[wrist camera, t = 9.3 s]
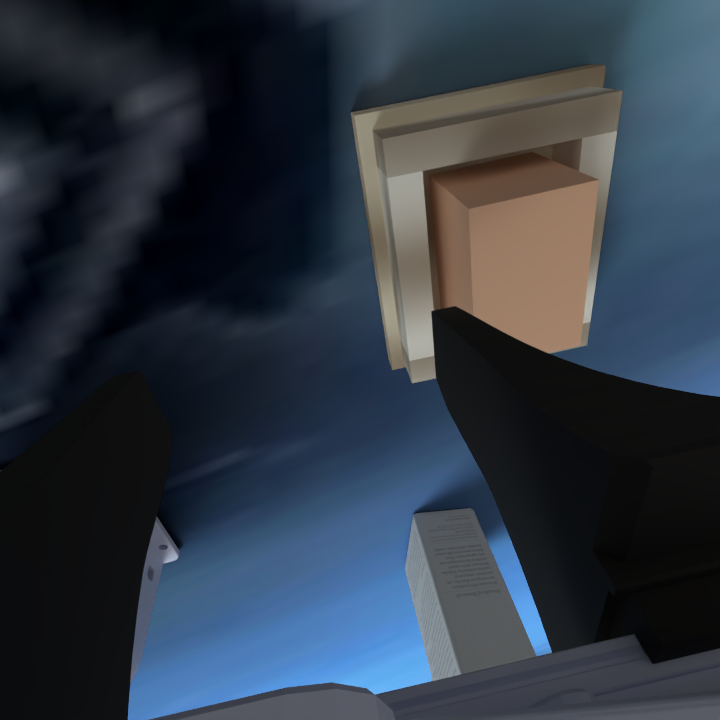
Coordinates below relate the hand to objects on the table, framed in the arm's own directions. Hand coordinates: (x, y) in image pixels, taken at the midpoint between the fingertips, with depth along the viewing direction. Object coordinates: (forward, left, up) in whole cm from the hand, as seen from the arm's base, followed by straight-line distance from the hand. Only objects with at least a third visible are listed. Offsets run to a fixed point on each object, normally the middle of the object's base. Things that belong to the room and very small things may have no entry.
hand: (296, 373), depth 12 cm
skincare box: (-22, -5, -10) cm, 25 cm away
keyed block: (-1, -8, -8) cm, 11 cm away
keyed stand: (-1, -8, -9) cm, 12 cm away
